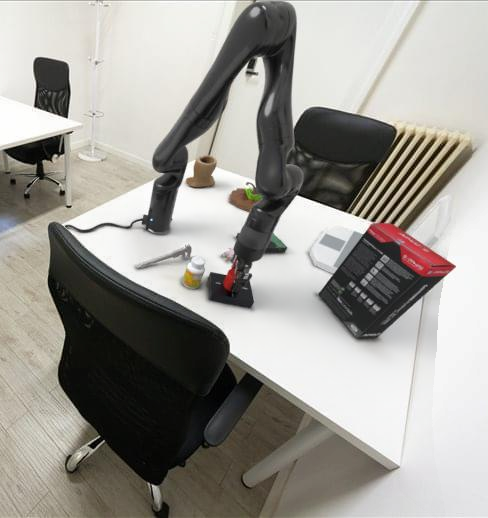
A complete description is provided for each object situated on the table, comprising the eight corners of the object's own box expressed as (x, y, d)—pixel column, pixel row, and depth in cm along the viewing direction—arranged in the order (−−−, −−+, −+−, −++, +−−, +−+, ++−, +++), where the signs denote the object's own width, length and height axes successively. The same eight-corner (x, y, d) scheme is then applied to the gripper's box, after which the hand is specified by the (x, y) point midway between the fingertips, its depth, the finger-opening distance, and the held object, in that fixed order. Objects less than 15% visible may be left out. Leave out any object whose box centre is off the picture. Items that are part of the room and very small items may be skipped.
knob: (241, 293, 86) (247, 280, 83) (223, 290, 87) (229, 277, 84) (238, 281, 90) (244, 269, 87) (221, 279, 91) (227, 266, 87)
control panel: (209, 300, 88) (212, 293, 86) (207, 278, 95) (210, 271, 93) (250, 308, 86) (254, 301, 84) (246, 285, 93) (249, 278, 91)
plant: (223, 204, 135) (231, 181, 128) (235, 189, 148) (242, 168, 141) (269, 218, 127) (280, 194, 120) (277, 201, 140) (287, 179, 132)
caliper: (187, 256, 104) (191, 242, 100) (189, 258, 103) (193, 244, 99) (135, 267, 98) (138, 252, 94) (137, 269, 97) (139, 254, 93)
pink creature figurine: (228, 267, 102) (263, 252, 105) (231, 255, 98) (267, 239, 101) (217, 256, 106) (250, 242, 109) (219, 244, 102) (253, 230, 105)
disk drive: (247, 254, 106) (285, 253, 108) (250, 248, 104) (288, 247, 106) (234, 238, 114) (270, 237, 115) (237, 232, 112) (272, 231, 114)
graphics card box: (379, 340, 79) (463, 264, 61) (355, 341, 78) (434, 265, 61) (335, 294, 92) (394, 221, 74) (314, 294, 91) (369, 221, 74)
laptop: (327, 226, 123) (366, 166, 106) (398, 253, 110) (455, 189, 94) (302, 260, 105) (344, 193, 88) (383, 296, 92) (451, 227, 75)
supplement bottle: (180, 277, 95) (187, 254, 89) (196, 277, 95) (203, 254, 89) (185, 289, 91) (192, 266, 85) (201, 289, 91) (210, 265, 85)
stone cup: (193, 191, 144) (201, 162, 135) (182, 181, 153) (189, 152, 143) (220, 189, 147) (229, 160, 138) (208, 179, 156) (216, 151, 147)
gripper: (235, 223, 83) (218, 267, 94) (241, 253, 73) (221, 299, 83) (263, 228, 82) (242, 272, 93) (273, 258, 71) (248, 304, 82)
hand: (232, 284), depth 88 cm, fingers closed on knob, 5 cm apart
